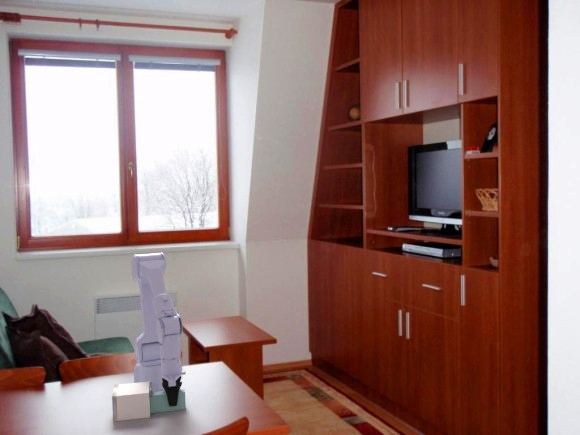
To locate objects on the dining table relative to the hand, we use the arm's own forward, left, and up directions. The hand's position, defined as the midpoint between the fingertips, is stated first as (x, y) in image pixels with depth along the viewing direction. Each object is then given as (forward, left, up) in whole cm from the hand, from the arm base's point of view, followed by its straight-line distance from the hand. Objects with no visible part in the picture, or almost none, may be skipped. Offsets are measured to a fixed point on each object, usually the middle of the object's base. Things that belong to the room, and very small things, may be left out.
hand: (172, 403), depth 185 cm
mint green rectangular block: (-3, -3, -1) cm, 5 cm away
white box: (-8, -8, -1) cm, 12 cm away
